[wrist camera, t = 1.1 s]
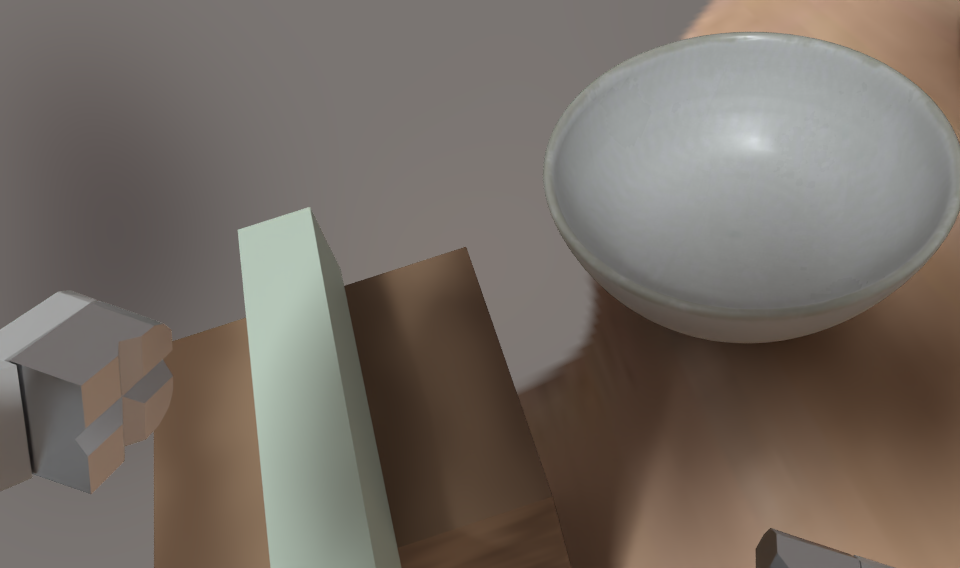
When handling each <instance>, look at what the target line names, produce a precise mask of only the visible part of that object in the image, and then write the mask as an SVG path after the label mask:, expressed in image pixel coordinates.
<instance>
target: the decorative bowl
mask: <svg viewBox="0 0 960 568" xmlns="http://www.w3.org/2000/svg"><path fill="white" fill-rule="evenodd" d="M543 183H544V190H545V196H546V200H547V204H548V207H549V210H550V212H551V215H552V218H553V220H554V222H555V224H556V226H557V228H558V230H559V232H560V234H561V236H562V237H563V239H564V241H565V242H566V244H567V246H568V247H569V249H570V250H571V252H572V253H573V254H574V256H575V257H576V258H577V260H578V261H579V262H580V263H581V265H582V266H583V267H584V269H585V270H586V271H587V272H588V273H589V274H590V275H591V276H592V277H593V278H594V280H595V281H596V282H597V283H598V284H600V285H601V286H602V287H603V288H604V289H605V290H606V291H607V292H608V293H609V294H611V295H612V296H613V297H614V298H616V299H617V300H618V301H620V302H621V303H622V304H624V305H625V306H627V307H628V308H630V309H631V310H633V311H634V312H636V313H637V314H639V315H641V316H643V317H645V318H646V319H648V320H650V321H652V322H654V323H656V324H659V325H661V326H663V327H666V328H668V329H671V330H673V331H676V332H679V333H682V334H686V335H689V336H693V337H697V338H701V339H706V340H712V341H719V342H728V343H765V342H775V341H782V340H788V339H793V338H798V337H802V336H806V335H809V334H813V333H816V332H819V331H822V330H825V329H828V328H831V327H833V326H836V325H838V324H840V323H842V322H845V321H847V320H849V319H851V318H853V317H855V316H857V315H859V314H861V313H862V312H864V311H866V310H868V309H869V308H871V307H873V306H874V305H876V304H877V303H879V302H880V301H882V300H883V299H885V298H886V297H888V296H889V295H890V294H892V293H893V292H894V291H895V290H897V289H898V288H899V287H901V286H902V285H903V284H904V283H905V282H907V281H908V280H909V279H910V278H911V277H912V276H913V275H914V274H915V273H916V272H918V271H919V270H920V269H921V268H922V267H923V266H924V265H925V264H926V262H927V261H928V260H929V259H930V258H931V257H932V256H933V255H934V253H935V252H936V251H937V250H938V248H939V247H940V246H941V244H942V243H943V241H944V240H945V239H946V237H947V236H948V234H949V232H950V230H951V229H952V227H953V225H954V223H955V221H956V218H957V216H958V213H959V211H960V145H959V142H958V139H957V136H956V134H955V132H954V130H953V128H952V126H951V125H950V123H949V121H948V120H947V118H946V116H945V115H944V114H943V112H942V111H941V110H940V108H939V107H938V106H937V105H936V104H935V102H934V101H933V100H932V99H931V98H930V97H929V96H928V95H927V94H926V93H925V92H924V91H923V90H922V89H920V88H919V87H918V86H917V85H916V84H914V83H913V82H912V81H911V80H909V79H908V78H907V77H905V76H904V75H902V74H901V73H899V72H898V71H896V70H895V69H893V68H891V67H889V66H888V65H886V64H884V63H882V62H880V61H878V60H876V59H874V58H872V57H870V56H868V55H865V54H863V53H861V52H858V51H856V50H853V49H850V48H848V47H844V46H841V45H838V44H835V43H831V42H827V41H823V40H819V39H815V38H810V37H804V36H798V35H791V34H782V33H769V32H733V33H721V34H713V35H705V36H699V37H694V38H689V39H684V40H680V41H676V42H673V43H669V44H666V45H663V46H659V47H656V48H653V49H651V50H648V51H646V52H644V53H641V54H639V55H636V56H634V57H632V58H630V59H628V60H626V61H624V62H622V63H620V64H618V65H617V66H615V67H613V68H612V69H610V70H609V71H607V72H606V73H604V74H603V75H601V76H600V77H598V78H597V79H596V80H594V81H593V82H592V83H591V84H589V85H588V86H587V87H586V88H585V89H584V90H583V91H582V92H581V93H579V95H578V96H577V97H576V98H575V99H574V100H573V101H572V102H571V103H570V105H569V106H568V107H567V108H566V110H565V111H564V113H563V114H562V116H561V117H560V119H559V120H558V122H557V124H556V126H555V128H554V130H553V132H552V134H551V137H550V139H549V142H548V145H547V149H546V153H545V158H544V166H543Z"/></svg>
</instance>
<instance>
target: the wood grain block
mask: <svg viewBox="0 0 960 568" xmlns="http://www.w3.org/2000/svg"><path fill="white" fill-rule="evenodd" d="M344 288H345V293H346V298H347V303H348V307H349V312H350V317H351V322H352V327H353V332H354V337H355V342H356V347H357V352H358V357H359V362H360V366H361V371H362V376H363V381H364V386H365V391H366V396H367V401H368V406H369V411H370V416H371V421H372V425H373V430H374V435H375V440H376V445H377V450H378V455H379V460H380V465H381V470H382V475H383V480H384V484H385V489H386V494H387V499H388V504H389V509H390V514H391V519H392V524H393V529H394V534H395V538H396V543H397V548H398V553H399V558H400V563H401V568H571V565H570V561H569V557H568V553H567V550H566V546H565V542H564V538H563V534H562V530H561V527H560V523H559V519H558V515H557V511H556V507H555V504H554V500H553V496H552V493H551V490H550V487H549V485H548V482H547V479H546V476H545V473H544V470H543V467H542V464H541V462H540V459H539V456H538V453H537V450H536V447H535V444H534V441H533V438H532V436H531V433H530V430H529V427H528V424H527V421H526V418H525V415H524V412H523V410H522V407H521V404H520V401H519V398H518V395H517V392H516V389H515V387H514V384H513V381H512V378H511V375H510V372H509V369H508V366H507V364H506V361H505V358H504V355H503V352H502V349H501V346H500V343H499V340H498V338H497V335H496V332H495V329H494V326H493V323H492V320H491V318H490V314H489V312H488V309H487V306H486V303H485V301H484V297H483V294H482V291H481V288H480V286H479V283H478V280H477V277H476V274H475V271H474V268H473V265H472V263H471V260H470V257H469V254H468V251H467V248H466V247H464V248H461V249H458V250H454V251H451V252H449V253H445V254H442V255H439V256H436V257H433V258H430V259H427V260H423V261H420V262H417V263H414V264H411V265H408V266H405V267H402V268H399V269H395V270H392V271H389V272H386V273H383V274H380V275H377V276H374V277H371V278H368V279H365V280H361V281H358V282H355V283H352V284H349V285H346V286H344ZM172 348H173V350H172V351H171V352H170V353H169V354H168V355H167V356H166V357H165V358H164V359H163V361H164V362H165V364H166V365H167V367H168V369H169V370H170V372H171V373H172V375H173V393H172V397H171V401H170V406H169V408H168V410H167V412H166V413H165V415H164V417H163V419H162V421H161V423H160V424H159V426H158V427H157V428H156V429H155V430H154V568H270V558H269V547H268V537H267V527H266V516H265V506H264V496H263V485H262V475H261V465H260V454H259V444H258V434H257V423H256V413H255V403H254V392H253V382H252V372H251V361H250V351H249V341H248V330H247V320H246V318H243V319H241V320H238V321H234V322H231V323H228V324H225V325H222V326H219V327H216V328H212V329H209V330H206V331H203V332H200V333H197V334H194V335H191V336H188V337H185V338H181V339H178V340H175V341H172Z"/></svg>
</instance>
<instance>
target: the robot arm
mask: <svg viewBox="0 0 960 568" xmlns="http://www.w3.org/2000/svg"><path fill="white" fill-rule="evenodd" d="M172 350H173V348H172V333H171V329H169V328H168V327H167V326H166V325H164V324H163V323H160V322H157V321H155V320H152V319H150V318H147V317H144V316H141V315H139V314H136V313H133V312H130V311H128V310H125V309H122V308H119V307H117V306H113V305H111V304H108V303H106V302H103V301H98V300H95V299H92V298H90V297H87V296H84V295H81V294H79V293H76V292H73V291H61V292H58V293H55V294H54V295H52V296H51V297H49V298H48V299H46V300H45V301H43V302H42V303H40V304H39V305H37V306H36V307H34V308H33V309H31V310H30V311H28V312H26V313H25V314H23V315H22V316H21V317H19V318H17V319H16V320H14V321H13V322H11V323H10V324H8V325H7V326H5V327H4V328H2V329H1V330H0V491H3V490H5V489H8V488H10V487H12V486H14V485H17V484H19V483H21V482H24V481H26V480H28V479H31V478H32V474H34V475H36V476H40V477H42V478H45V479H48V480H51V481H54V482H57V483H60V484H63V485H66V486H68V487H71V488H74V489H77V490H80V491H83V492H86V493H89V494H92V493H93V492H94V491H95V490H96V489H97V488H98V487H99V486H100V485H101V484H102V483H103V482H104V481H105V480H106V479H107V478H108V477H109V476H110V475H111V474H112V473H113V472H114V471H115V470H116V469H117V468H118V467H119V466H120V465H121V464H122V462H124V456H125V446H127V445H131V444H134V443H137V442H140V441H143V440H146V439H147V437H148V436H149V435H150V434H151V433H152V432H153V431H154V430H155V429H156V428H157V427H158V426H159V424H160V423H161V421H162V419H163V417H164V415H165V413H166V412H167V410H168V408H169V406H170V401H171V397H172V393H173V375H172V373H171V372H170V370H169V369H168V367H167V365H166V364H165V362H164V361H163V359H164V358H165V357H166V356H167V355H168V354H169V353H170V352H171V351H172ZM756 568H894V567H891V566H888V565H885V564H882V563H879V562H875V561H872V560H869V559H866V558H863V557H860V556H856V555H854V556H852V555H850V554H848V553H845V552H842V551H839V550H836V549H833V548H830V547H827V546H824V545H821V544H818V543H815V542H812V541H808V540H805V539H802V538H799V537H796V536H793V535H790V534H787V533H784V532H781V531H778V530H775V529H772V528H770V529H769V530H768V531H767V532H766V533H765V534H764V535H763V537H762V539H761V540H760V542H759V544H758V546H757V548H756Z"/></svg>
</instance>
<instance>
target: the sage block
mask: <svg viewBox="0 0 960 568" xmlns="http://www.w3.org/2000/svg"><path fill="white" fill-rule="evenodd" d="M238 237H239V247H240V258H241V268H242V279H243V289H244V299H245V310H246V320H247V330H248V341H249V351H250V361H251V372H252V382H253V392H254V403H255V413H256V423H257V434H258V444H259V454H260V465H261V475H262V485H263V496H264V506H265V516H266V527H267V537H268V547H269V558H270V568H401V563H400V558H399V553H398V548H397V543H396V538H395V534H394V529H393V524H392V519H391V514H390V509H389V504H388V499H387V494H386V489H385V484H384V480H383V475H382V470H381V465H380V460H379V455H378V450H377V445H376V440H375V435H374V430H373V425H372V421H371V416H370V411H369V406H368V401H367V396H366V391H365V386H364V381H363V376H362V371H361V366H360V362H359V357H358V352H357V347H356V342H355V337H354V332H353V327H352V322H351V317H350V312H349V307H348V303H347V298H346V293H345V288H344V283H343V278H342V274H341V269H340V267H339V265H338V263H337V261H336V259H335V257H334V255H333V253H332V251H331V249H330V247H329V245H328V243H327V241H326V239H325V237H324V234H323V232H322V231H321V228H320V226H319V224H318V223H317V220H316V218H315V216H314V214H313V212H312V210H311V208H310V207H308V208H305V209H302V210H299V211H296V212H293V213H290V214H287V215H283V216H280V217H277V218H274V219H271V220H267V221H264V222H261V223H258V224H255V225H252V226H249V227H246V228H242V229H239V230H238Z"/></svg>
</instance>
